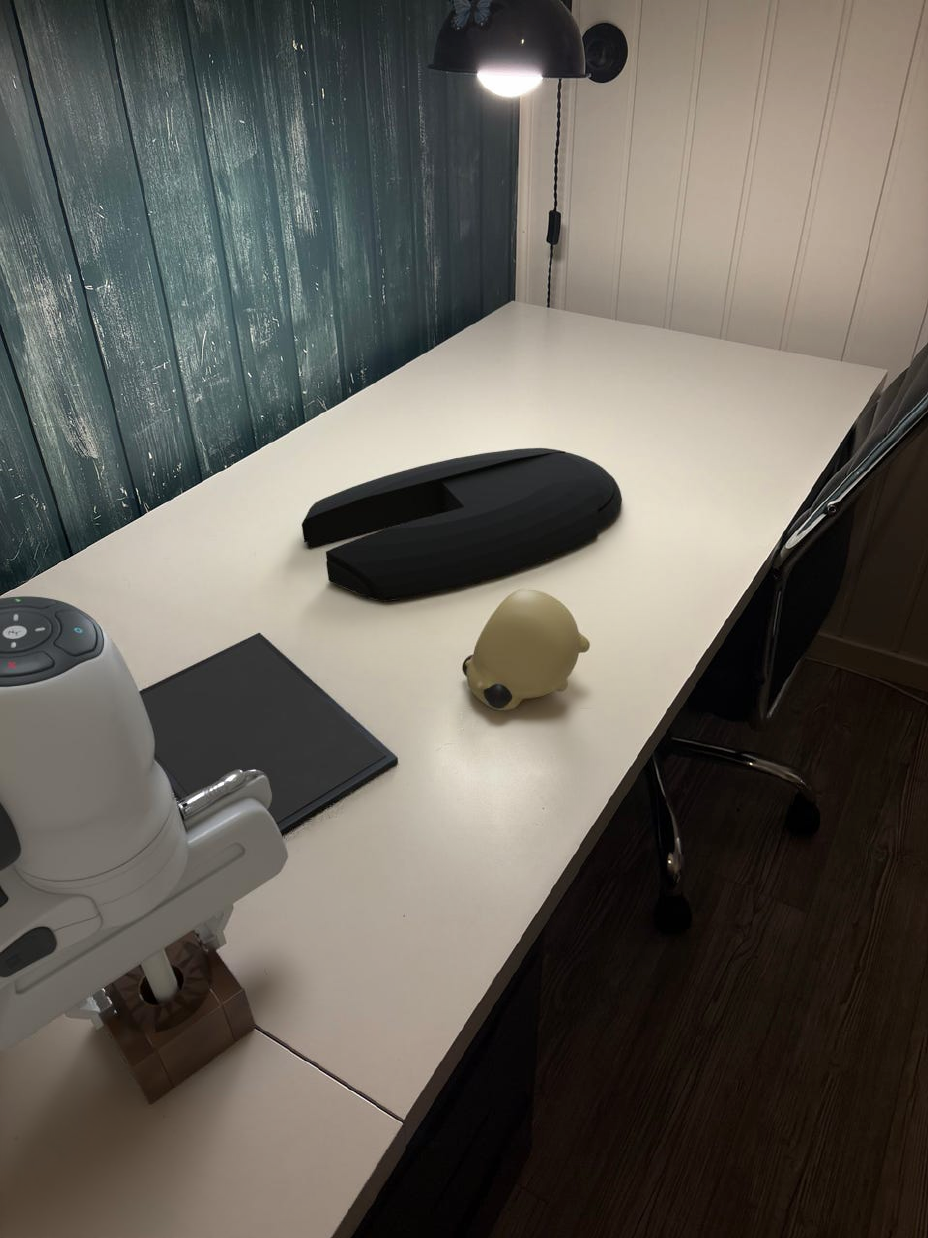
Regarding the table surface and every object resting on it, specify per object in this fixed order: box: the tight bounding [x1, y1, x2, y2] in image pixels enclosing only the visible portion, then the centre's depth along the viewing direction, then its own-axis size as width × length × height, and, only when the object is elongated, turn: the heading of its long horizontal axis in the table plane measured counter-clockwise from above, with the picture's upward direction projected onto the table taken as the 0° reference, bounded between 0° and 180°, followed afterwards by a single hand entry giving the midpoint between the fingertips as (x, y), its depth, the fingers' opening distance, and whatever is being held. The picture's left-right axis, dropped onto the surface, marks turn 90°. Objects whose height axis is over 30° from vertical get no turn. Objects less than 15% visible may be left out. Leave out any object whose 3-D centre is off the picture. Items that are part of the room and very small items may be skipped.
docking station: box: [301, 447, 623, 602], centre depth 113 cm, size 25×40×5 cm, turn 116°
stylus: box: [141, 949, 180, 1005], centre depth 60 cm, size 2×2×14 cm
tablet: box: [139, 632, 399, 837], centre depth 86 cm, size 17×24×1 cm
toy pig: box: [461, 588, 591, 711], centre depth 88 cm, size 10×12×11 cm
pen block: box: [103, 930, 257, 1106], centre depth 63 cm, size 8×8×5 cm
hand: (159, 978), depth 61 cm, fingers open, 6 cm apart
